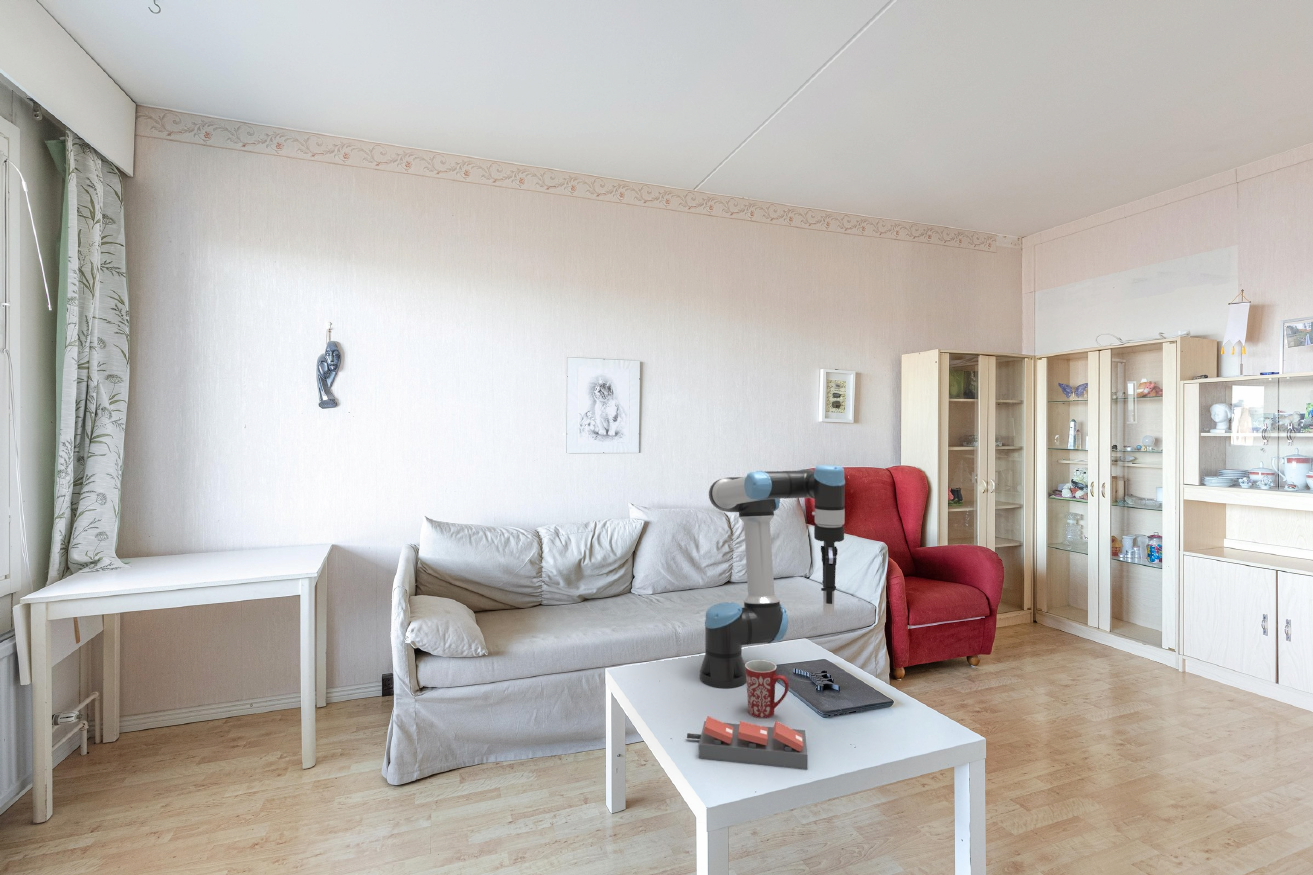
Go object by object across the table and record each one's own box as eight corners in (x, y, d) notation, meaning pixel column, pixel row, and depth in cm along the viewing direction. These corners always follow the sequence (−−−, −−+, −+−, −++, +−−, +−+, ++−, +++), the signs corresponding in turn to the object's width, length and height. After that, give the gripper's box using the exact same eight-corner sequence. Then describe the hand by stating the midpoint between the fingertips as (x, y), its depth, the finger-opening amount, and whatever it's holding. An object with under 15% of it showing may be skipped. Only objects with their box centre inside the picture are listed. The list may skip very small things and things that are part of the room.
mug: (739, 714, 176) (739, 667, 176) (753, 702, 184) (753, 656, 183) (780, 726, 169) (781, 677, 169) (793, 713, 177) (794, 666, 176)
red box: (739, 726, 158) (740, 720, 158) (766, 733, 156) (767, 727, 156) (737, 737, 152) (738, 731, 152) (766, 745, 151) (767, 738, 151)
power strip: (689, 732, 166) (689, 715, 166) (805, 743, 160) (805, 725, 160) (682, 756, 154) (682, 738, 154) (807, 769, 148) (807, 750, 148)
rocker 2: (773, 726, 156) (776, 720, 156) (799, 739, 155) (802, 734, 155) (773, 737, 150) (776, 731, 150) (800, 751, 149) (803, 745, 149)
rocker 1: (705, 721, 159) (707, 715, 159) (731, 732, 158) (733, 726, 158) (703, 732, 154) (705, 726, 154) (730, 743, 153) (732, 737, 152)
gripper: (812, 520, 169) (812, 606, 170) (815, 528, 156) (815, 621, 157) (841, 521, 168) (840, 608, 168) (847, 529, 155) (846, 623, 155)
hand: (828, 614), depth 163 cm, fingers closed
